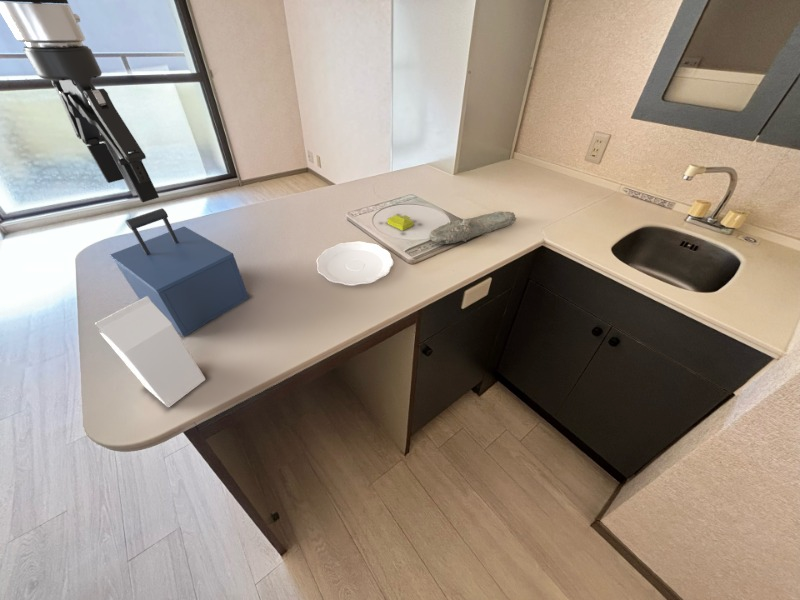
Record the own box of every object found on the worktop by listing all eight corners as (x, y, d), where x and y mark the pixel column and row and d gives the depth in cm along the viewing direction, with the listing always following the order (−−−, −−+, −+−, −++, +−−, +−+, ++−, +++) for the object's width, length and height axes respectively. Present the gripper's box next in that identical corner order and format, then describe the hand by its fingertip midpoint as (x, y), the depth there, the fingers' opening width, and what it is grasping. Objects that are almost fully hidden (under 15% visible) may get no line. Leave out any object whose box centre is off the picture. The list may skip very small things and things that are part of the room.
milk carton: (206, 379, 61) (160, 304, 49) (168, 408, 56) (107, 333, 44) (184, 363, 64) (135, 288, 51) (146, 389, 59) (83, 313, 47)
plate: (360, 238, 102) (360, 234, 101) (408, 267, 91) (408, 262, 90) (302, 264, 90) (301, 259, 89) (348, 300, 79) (348, 295, 78)
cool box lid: (111, 257, 69) (86, 220, 64) (185, 229, 79) (169, 194, 74) (158, 293, 61) (134, 254, 55) (234, 256, 71) (220, 219, 65)
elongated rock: (521, 229, 112) (500, 218, 119) (525, 214, 109) (503, 204, 116) (441, 250, 97) (422, 237, 103) (443, 234, 94) (423, 221, 100)
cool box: (140, 301, 77) (113, 259, 69) (205, 270, 87) (187, 230, 79) (184, 337, 69) (158, 293, 61) (249, 298, 79) (234, 256, 71)
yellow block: (380, 223, 110) (380, 215, 108) (399, 215, 115) (399, 207, 113) (402, 234, 105) (403, 226, 103) (420, 224, 110) (421, 216, 108)
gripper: (124, 49, 43) (188, 200, 57) (55, 38, 54) (123, 168, 68) (54, 52, 39) (142, 216, 53) (-6, 39, 49) (81, 178, 63)
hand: (132, 189), depth 60 cm, fingers open, 13 cm apart
